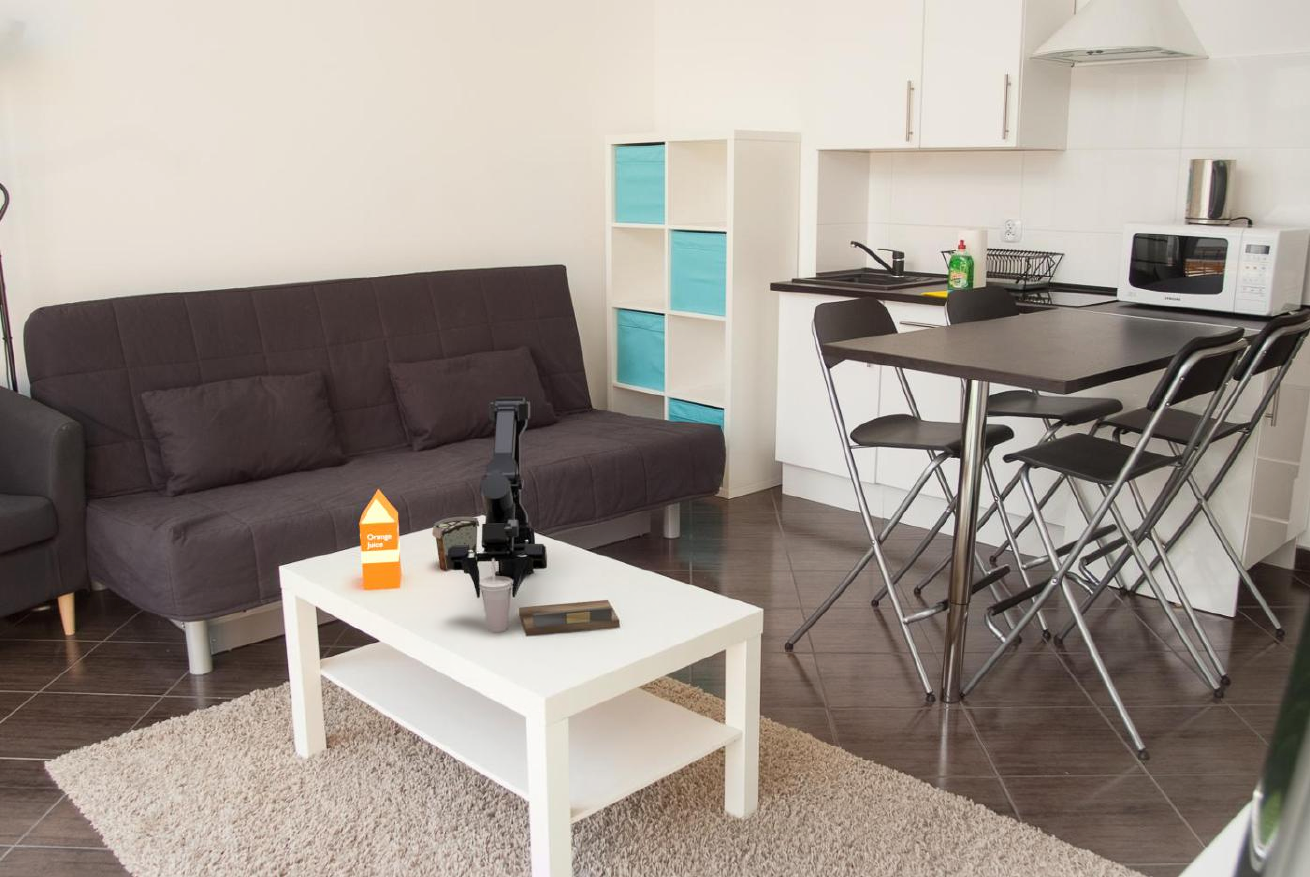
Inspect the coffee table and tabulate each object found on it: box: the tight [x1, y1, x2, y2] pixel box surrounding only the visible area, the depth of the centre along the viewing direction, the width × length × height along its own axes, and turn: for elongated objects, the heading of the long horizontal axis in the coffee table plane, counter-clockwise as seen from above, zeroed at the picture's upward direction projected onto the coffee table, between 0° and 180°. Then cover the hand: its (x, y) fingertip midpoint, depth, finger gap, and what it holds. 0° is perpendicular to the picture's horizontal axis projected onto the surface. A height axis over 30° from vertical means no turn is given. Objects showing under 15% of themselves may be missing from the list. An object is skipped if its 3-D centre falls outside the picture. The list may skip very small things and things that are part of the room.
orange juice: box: [359, 488, 402, 591], centre depth 251 cm, size 8×9×20 cm
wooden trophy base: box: [518, 599, 620, 637], centre depth 228 cm, size 12×18×4 cm
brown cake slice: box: [431, 516, 480, 572], centre depth 265 cm, size 12×6×10 cm, turn 144°
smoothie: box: [479, 558, 513, 633], centre depth 223 cm, size 6×6×14 cm
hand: (495, 596), depth 222 cm, fingers closed on smoothie, 6 cm apart
